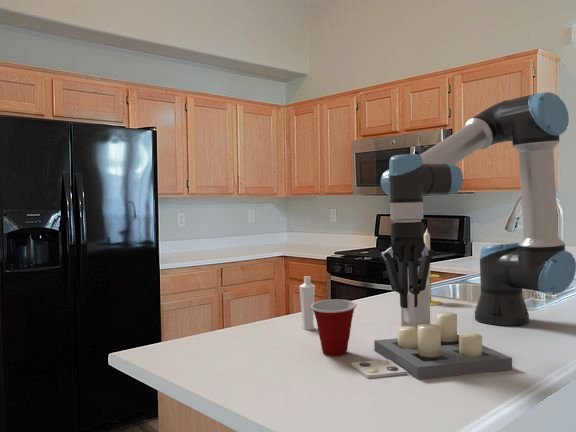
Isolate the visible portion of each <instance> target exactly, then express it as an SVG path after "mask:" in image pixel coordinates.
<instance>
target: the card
mask: <svg viewBox="0 0 576 432" xmlns="http://www.w3.org/2000/svg"><path fill="white" fill-rule="evenodd" d="M351 366H352V367H353V368H354V369H355V370H356V371H357V372H359V373H360V374H361V376H364V377H365V378H366V379H373V378H384V377H393V376H404V375H408V373H407V371H406V370H404V369H403V368H401V367H400V366H398V365H397V364H395V363H394V362H392V361H391V360H389V359H379V360H369V361H357V362H351Z"/></svg>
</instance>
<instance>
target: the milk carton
mask: <svg viewBox="0 0 576 432" xmlns="http://www.w3.org/2000/svg"><path fill="white" fill-rule="evenodd" d="M419 267H420V266H419ZM419 267H418V272H419ZM408 293H410V292H409V274H408ZM417 299H418V305H417V307H415V322H413V323H408V322H406V321H404V308H402V307H401V306H400V317H401V318H400V327H402V326H411V327H416V328H418V325H421V324H431V306H430V281H429V272H428V277H427V282H426V287H425V290H424V291H420V293H419V294H417Z"/></svg>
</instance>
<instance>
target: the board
mask: <svg viewBox="0 0 576 432" xmlns="http://www.w3.org/2000/svg"><path fill="white" fill-rule="evenodd" d="M373 346H374V352H376V353H377V354H379V355H380V356H382V357H383V358H384V359H385V360H387V359H389V360H391V361H392V362H394V363H395V364H397V365H398V366H400V367H401V368H403V369H404V370H406V371H407V374H409V375H410V376H411V377H413V378H414V379H416V380H425V379H427V380H428V379H435V378H445V377H454V376H455V377H456V376H463V375H473V374H482V373H483V372H485V373H492V372H501V371H502V372H503V371H511V370H513V357H511V356H508V355H507V354H504V353H502V352H499V351H498V350H495V349H492V348H489V347H488V346H485V345H483V344H482V356H478V357H467V358H466V357H464V356H462V355H460V354H459V334H457V341H454V342H443V341H441V356H439V357H423V356H420V355H419V354H418V348H409V349H401V348H400V347H398V337H397V338H388V339H387V338H385V339H375V340H374V345H373Z"/></svg>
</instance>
